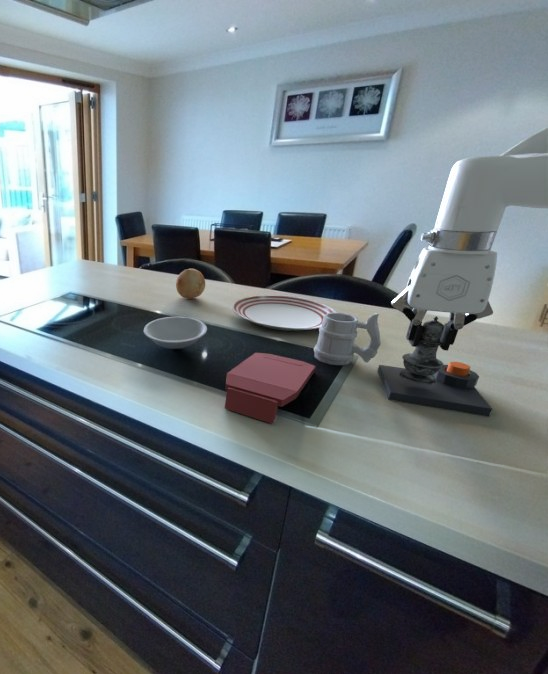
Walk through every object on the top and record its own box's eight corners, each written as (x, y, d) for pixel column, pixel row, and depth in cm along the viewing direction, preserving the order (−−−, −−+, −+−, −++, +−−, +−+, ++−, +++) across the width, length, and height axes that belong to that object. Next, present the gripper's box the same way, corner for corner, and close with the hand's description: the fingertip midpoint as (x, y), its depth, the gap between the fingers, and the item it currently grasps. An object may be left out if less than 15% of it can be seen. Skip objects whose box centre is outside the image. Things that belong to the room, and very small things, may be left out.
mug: (318, 348, 92) (328, 300, 87) (377, 362, 84) (392, 310, 80) (307, 359, 87) (317, 308, 82) (370, 375, 79) (384, 320, 75)
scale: (465, 384, 75) (471, 367, 74) (492, 418, 65) (500, 399, 63) (376, 370, 81) (380, 355, 80) (388, 400, 71) (393, 383, 69)
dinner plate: (350, 341, 95) (353, 329, 94) (233, 333, 102) (234, 321, 101) (322, 307, 119) (324, 296, 118) (229, 302, 126) (230, 292, 125)
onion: (193, 304, 126) (195, 273, 122) (169, 298, 133) (170, 269, 129) (210, 298, 132) (212, 268, 128) (186, 292, 139) (188, 264, 135)
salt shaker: (402, 367, 76) (420, 308, 71) (441, 378, 71) (462, 316, 67) (392, 377, 72) (410, 316, 68) (432, 388, 68) (454, 324, 63)
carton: (253, 371, 90) (213, 404, 70) (257, 351, 88) (217, 379, 69) (311, 386, 83) (285, 427, 63) (316, 364, 82) (291, 400, 62)
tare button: (464, 371, 73) (467, 363, 73) (470, 378, 71) (473, 369, 70) (444, 368, 74) (446, 360, 74) (449, 375, 72) (452, 367, 71)
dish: (189, 368, 85) (190, 347, 83) (131, 354, 92) (131, 334, 90) (214, 340, 98) (216, 322, 96) (162, 330, 106) (163, 312, 104)
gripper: (402, 242, 63) (375, 346, 70) (543, 247, 56) (497, 361, 63) (393, 236, 69) (368, 332, 76) (519, 239, 62) (479, 344, 69)
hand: (427, 344), depth 69 cm, fingers closed on salt shaker, 3 cm apart
